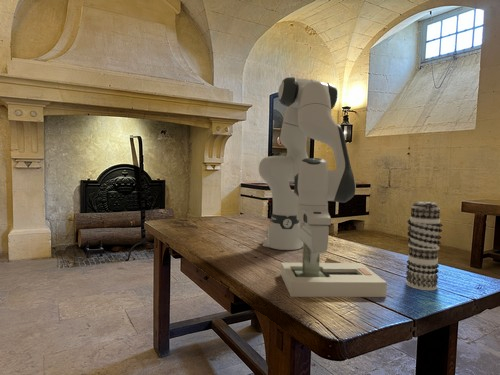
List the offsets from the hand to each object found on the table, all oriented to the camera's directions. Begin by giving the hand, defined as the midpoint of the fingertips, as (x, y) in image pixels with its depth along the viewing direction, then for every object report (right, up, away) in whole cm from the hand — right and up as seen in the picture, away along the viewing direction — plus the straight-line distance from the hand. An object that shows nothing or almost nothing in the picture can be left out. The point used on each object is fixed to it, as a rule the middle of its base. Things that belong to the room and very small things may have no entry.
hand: (310, 261), depth 98 cm
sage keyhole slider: (0, -6, 0) cm, 6 cm away
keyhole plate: (+6, -7, +1) cm, 9 cm away
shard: (+11, -7, +20) cm, 24 cm away
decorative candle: (+34, -8, +2) cm, 35 cm away
